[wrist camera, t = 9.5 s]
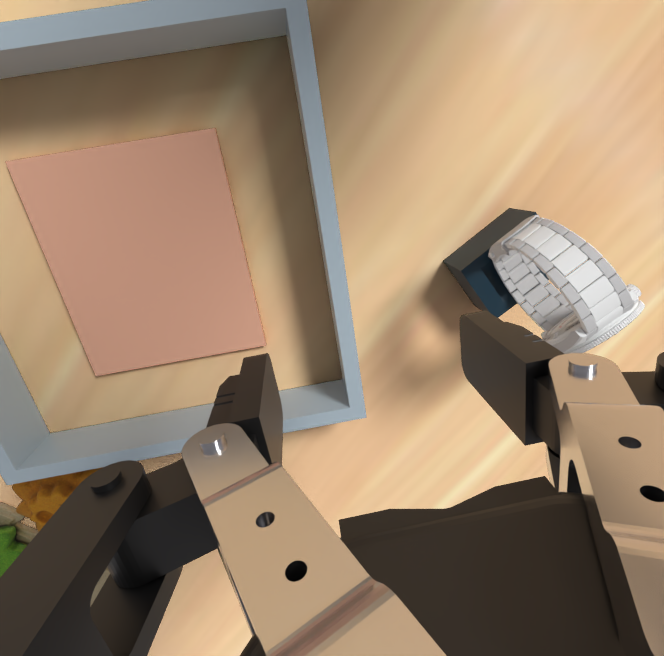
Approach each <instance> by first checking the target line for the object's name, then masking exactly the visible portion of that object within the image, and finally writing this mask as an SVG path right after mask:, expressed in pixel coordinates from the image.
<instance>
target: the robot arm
mask: <svg viewBox="0 0 664 656" xmlns="http://www.w3.org/2000/svg"><path fill="white" fill-rule="evenodd" d="M460 342H461V360H462V367H463V371H464V374H465V376H466V378H467V380H468V381H469V382H470V383H471V384H472V386H473V387H474V388H475V389H476V390H477V391H478V392H479V394H480V395H481V396H482V397H483V398H484V399H485V400H486V402H487V403H488V404H489V405H490V406H491V407H492V408H493V410H494V411H495V412H496V413H497V414H498V415H499V416H500V417H501V419H502V420H503V421H504V422H505V423H506V424H507V425H508V427H509V428H510V429H511V430H512V431H513V432H514V433H515V435H516V436H517V437H518V438H519V439H520V440H521V441H522V442H523V444H524V445H530V444H535V443H539V442H545V443H546V463H547V469H548V474H549V480H550V482H549V480H548V479H547V478H546V477H545V476H543V477H538V478H534V479H529V480H524V481H519V482H515V483H510V484H505V485H501V486H496V487H493V488H491V489H489V490H487V491H485V492H483V493H481V494H478V495H476V496H474V497H472V498H470V499H468V500H466V501H464V502H462V503H460V504H457V505H455V506H453V507H451V508H447V509H388V510H383V511H378V512H374V513H369V514H364V515H360V516H355V517H350V518H345V519H341V520H339V525H340V532H341V538H339V537H338V535H337V534H336V533H335V532H334V530H333V529H332V528H331V527H330V525H329V524H328V523H327V522H326V520H325V519H324V518H323V517H322V515H321V514H320V513H319V512H318V510H317V509H316V508H315V507H314V505H313V504H312V503H311V502H310V500H309V499H308V498H307V497H306V495H305V494H304V493H303V492H302V490H301V489H300V488H299V487H298V485H297V484H296V483H295V482H294V480H293V479H292V478H291V476H290V475H289V474H288V473H287V471H286V470H285V469H284V468H283V466H282V440H283V411H282V404H281V399H280V395H279V391H278V387H277V383H276V379H275V375H274V371H273V367H272V363H271V360H270V357H269V354H268V353H266V354H261V355H256V356H251V357H246V358H244V359H243V363H242V367H241V371H240V375H235V376H230V377H228V378H227V379H226V380H225V382H224V383H223V384H222V385H221V386H220V387H219V390H218V393H217V396H216V397H217V398H216V399H215V402H214V406H213V408H212V411H211V414H210V417H209V420H208V423H207V426H206V428H205V429H203V430H201V431H199V432H197V433H196V434H194V435H193V436H192V437H191V438H190V439H188V440H187V442H186V443H185V444H184V446H183V448H182V452H181V454H182V457H183V458H182V459H181V460H179V461H177V462H175V463H173V464H171V465H168V466H166V467H163V468H161V469H158V470H156V471H153V472H151V473H149V474H146V473H145V471H144V468H143V466H142V465H141V463H139V462H137V461H132V460H126V461H120V462H116V463H113V464H110V465H108V466H105V467H103V468H101V469H99V470H97V471H96V472H94V473H93V474H91V475H90V476H88V477H87V478H86V479H85V480H83V481H82V482H81V483H80V484H79V485H78V486H77V487H76V489H75V490H74V491H73V492H72V493H71V495H70V496H69V497H68V498H67V499H66V500H65V502H64V503H63V504H62V505H61V506H60V507H59V509H58V510H57V511H56V512H55V513H54V515H53V516H52V517H51V518H50V519H49V520H48V522H47V523H46V524H45V525H44V526H43V528H42V529H41V530H40V531H39V532H38V533H37V535H36V536H35V537H34V538H33V539H32V541H31V542H30V543H29V544H28V545H27V546H26V548H25V549H24V550H23V551H22V552H21V554H20V555H19V556H18V557H17V558H16V559H15V561H14V562H13V563H12V564H11V565H10V567H9V568H8V569H7V570H6V571H5V572H4V574H3V575H2V576H1V577H0V656H147V654H148V652H149V649H150V647H151V645H152V642H153V640H154V637H155V635H156V633H157V630H158V628H159V625H160V623H161V620H162V618H163V616H164V613H165V611H166V608H167V606H168V603H169V601H170V599H171V596H172V594H173V591H174V589H175V586H176V584H177V582H178V579H179V577H180V574H181V571H182V567H183V565H185V564H187V563H189V562H191V561H193V560H195V559H197V558H199V557H201V556H203V555H205V554H207V553H209V552H211V551H213V550H215V549H217V550H218V552H219V554H220V557H221V559H222V562H223V564H224V567H225V569H226V572H227V574H228V577H229V579H230V582H231V584H232V586H233V589H234V591H235V594H236V596H237V599H238V601H239V604H240V606H241V609H242V611H243V614H244V616H245V619H246V621H247V624H248V626H249V629H250V632H251V634H252V638H251V639H250V641H249V643H248V644H247V646H246V647H245V649H244V650H243V652H242V653H241V655H240V656H664V352H663V353H661V354H659V356H658V357H657V363H656V370H655V371H652V372H621V371H620V369H619V367H618V366H617V365H616V364H615V363H614V362H612V361H611V360H609V359H607V358H604V357H601V356H597V355H593V354H586V353H569V354H564V353H563V352H561V351H560V350H558V349H557V348H555V347H553V346H552V345H550V344H549V343H547V342H546V341H542V339H541V338H539V337H538V336H536V335H533V333H532V332H530V331H528V330H527V329H525V328H524V327H522V326H519V325H515V324H512V323H508V322H503V321H501V320H500V319H499V318H497V317H496V316H494V315H493V314H491V313H490V312H488V311H481V312H476V313H471V314H465V315H462V316H461V317H460ZM106 568H108V570H109V572H110V575H109V576H108V578H107V580H106V581H105V583H104V585H103V587H102V588H101V590H100V592H99V593H98V595H97V597H96V598H95V600H94V602H93V604H92V605H91V607H90V603H91V598H92V594H93V591H94V589H95V587H96V585H97V583H98V581H99V580H100V578H101V576H102V575H103V573H104V571H105V570H106Z"/></svg>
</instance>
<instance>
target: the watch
mask: <svg viewBox="0 0 664 656" xmlns="http://www.w3.org/2000/svg"><path fill="white" fill-rule="evenodd" d="M584 244H585V245H584ZM570 246H571V247H570ZM569 247H570V248H569ZM580 247H581V248H580ZM565 250H566V251H565ZM561 253H562V254H561ZM601 257H602V254H600V253H599V252H598V251H597V250H596V249H595V248H594V247H593V246H592V245H590V244H589V243H586V241H585V240H584V239H582V238H581V237H580V236H578V235H577V234H575V233H574V232H572V231H570V230H569V229H568V228H566V227H564V226H562V225H561V224H558V223H556V222H554V221H552V220H549V219H545V218H544V219H543V218H539V215H537V213H536V212H531V211H525V210H518V209H512V208H509V209H508V210H506V211H505V212H504V213H503V214H501V215H500V216H499V217H498V218H496V219H495V220H494V221H493V222H491V223H490V224H489V225H487V226H486V227H485V228H484V229H482V230H481V231H480V232H479V233H477V234H476V235H475V236H474V237H472V238H471V239H470V240H469V241H467V242H466V243H465V244H464V245H462V246H461V247H460V248H459V249H457V250H456V251H455V252H453V253H452V254H451V255H450V256H448V257H447V258H446V259H445V260H443V262H444V263H445V265H446V266H447V267H448V269H449V270H450V272H451V273H452V274H453V276H454V277H455V279H456V280H457V281H458V283H459V284H460V286H461V287H462V288H463V290H464V291H465V293H466V294H467V295H468V297H469V298H470V300H471V301H472V302H473V304H474V305H475V306H476V307H478V308H479V309H480V310H482V311H488V312H490V313H491V314H493V315H494V316H496V317H497V318H498V317H499V316H501V315H502V314H503V313H505V312H506V311H507V310H509V309H510V308H511V307H513V306H514V305H515V304H517V303H518V304H519V305H520V304H521V303H522V302H523V303H522V304H521V305H520V306H521V308H522V309H523V310H524V311H525V312H526V313H527V315H528V316H530V315H531V316H530V317H531V319H532V320H533V321H534V322H535V323H536V324H537V325H538V326H539V327H541V328H542V329H543V330H544V332H543V333H542V334H541V336H542V341H546V342H547V343H549V344H550V345H552V346H553V347H555V348H557V349H558V350H560V351H561V352H563V353H564V354H569V353H584V352H586V351H588V350H590V349H592V348H594V347H595V346H597V345H599V344H600V343H602V342H604V341H605V340H607V339H609V338H610V337H612V336H613V335H616V334H617V333H619V331H620V330H622V329H623V328H624V327H626V326H627V325H628V324H629V323H631V322H632V321H633V320H634V319H635V318H636V317H637V316H638V315H639V314H640V313H641V312H642V310H643V309H644V306H645V305H644V304H643V303H642V301H640V300H639V298H638V297H639V296H640V295H641V291H640V290H639V289H638V288H637V287H636V286H635V285H632V284H629V285H627V286H626V285H625V283H624V282H623V280H622V279H621V277H620V276H619V275H618V274H617V273H616V270H615V269H614V268H613V267H612V266H611V264H610V263H609V262H608V261H607V260H606V259H605V258H601ZM600 258H601V259H600ZM599 259H600V260H599ZM586 260H587V261H586ZM597 260H598V261H597ZM585 261H586V262H585ZM596 261H597V262H596ZM583 262H585V263H583ZM582 263H583V264H582ZM581 264H582V265H581ZM579 265H580V266H579ZM578 266H579V267H578ZM577 267H578V268H577ZM575 268H576V269H575ZM574 269H575V270H574ZM573 270H574V271H573ZM571 271H572V272H571ZM570 272H571V273H570ZM569 273H570V274H569ZM567 274H568V275H567ZM566 275H567V276H566ZM565 276H566V277H565ZM548 280H550V281H551V282H552V283H553V284H554V286H555V287H556V288H558V289H559V288H560V289H559V291H560V292H561V294H560V292H559V291H558V290H557V289H556V288H555V287H554V286H553V285H552V284H551V283H549V281H548ZM548 283H549V284H548ZM566 283H567V284H566ZM546 284H547V285H546ZM565 284H566V285H565ZM545 285H546V286H545ZM544 286H545V287H544ZM562 286H563V287H562ZM561 287H562V288H561ZM548 295H549V296H548ZM557 295H558V296H557ZM547 296H548V297H547ZM556 296H557V297H556ZM545 297H546V298H545ZM544 298H545V299H544ZM543 299H544V300H543ZM541 300H542V301H541ZM524 301H525V302H524ZM540 301H541V302H540ZM539 302H540V303H539ZM537 303H538V304H537ZM536 304H537V305H536ZM535 305H536V306H535ZM533 306H534V307H533ZM552 311H553V312H552ZM534 312H535V313H534Z"/></svg>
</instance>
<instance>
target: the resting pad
mask: <svg viewBox="0 0 664 656" xmlns="http://www.w3.org/2000/svg"><path fill="white" fill-rule="evenodd" d="M5 163H6V165H7V167H8V170H9V172H10V174H11V177H12V179H13V182H14V184H15V186H16V189H17V191H18V193H19V196H20V198H21V201H22V203H23V205H24V208H25V210H26V212H27V215H28V217H29V219H30V222H31V224H32V227H33V229H34V231H35V234H36V236H37V238H38V241H39V243H40V246H41V248H42V250H43V253H44V255H45V257H46V260H47V262H48V265H49V267H50V269H51V272H52V274H53V276H54V279H55V281H56V283H57V286H58V288H59V291H60V293H61V295H62V298H63V300H64V302H65V305H66V307H67V310H68V312H69V314H70V317H71V319H72V321H73V324H74V326H75V329H76V331H77V333H78V336H79V338H80V340H81V343H82V345H83V347H84V350H85V352H86V355H87V357H88V359H89V362H90V364H91V366H92V369H93V371H94V374H95V376H100V375H105V374H111V373H116V372H122V371H128V370H133V369H139V368H144V367H150V366H155V365H161V364H166V363H172V362H177V361H183V360H188V359H194V358H200V357H205V356H211V355H216V354H222V353H227V352H233V351H238V350H244V349H249V348H255V347H260V346H266V340H265V336H264V332H263V328H262V323H261V319H260V315H259V311H258V306H257V302H256V298H255V293H254V289H253V285H252V281H251V276H250V272H249V268H248V264H247V259H246V255H245V251H244V247H243V242H242V238H241V234H240V230H239V225H238V221H237V217H236V213H235V208H234V204H233V200H232V195H231V191H230V187H229V183H228V178H227V174H226V170H225V166H224V161H223V157H222V153H221V149H220V144H219V140H218V136H217V132H216V128H211V129H204V130H198V131H192V132H186V133H179V134H173V135H167V136H161V137H155V138H148V139H142V140H136V141H130V142H123V143H117V144H111V145H105V146H98V147H92V148H86V149H80V150H73V151H67V152H61V153H55V154H48V155H42V156H36V157H30V158H23V159H17V160H11V161H5Z"/></svg>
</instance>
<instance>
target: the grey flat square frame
mask: <svg viewBox="0 0 664 656" xmlns="http://www.w3.org/2000/svg"><path fill="white" fill-rule="evenodd" d="M285 35H287V41H288V48H289V54H290V60H291V66H292V72H293V78H294V84H295V90H296V97H297V103H298V109H299V115H300V121H301V127H302V133H303V140H304V146H305V152H306V158H307V164H308V170H309V176H310V182H311V189H312V195H313V201H314V207H315V213H316V219H317V225H318V231H319V238H320V244H321V250H322V256H323V262H324V268H325V274H326V281H327V287H328V293H329V299H330V305H331V311H332V317H333V323H334V330H335V336H336V342H337V348H338V354H339V360H340V366H341V372H342V379H341V380H335V381H330V382H325V383H319V384H314V385H308V386H303V387H298V388H292V389H287V390H281V391H279V395H280V399H281V404H282V411H283V433H287V432H292V431H297V430H303V429H308V428H313V427H319V426H324V425H329V424H335V423H340V422H345V421H350V420H356V419H361V418H366V411H365V404H364V397H363V390H362V383H361V376H360V369H359V362H358V355H357V348H356V341H355V334H354V327H353V320H352V313H351V306H350V299H349V292H348V285H347V278H346V271H345V265H344V258H343V251H342V244H341V237H340V230H339V223H338V216H337V209H336V202H335V195H334V188H333V181H332V174H331V167H330V160H329V153H328V146H327V139H326V132H325V125H324V118H323V111H322V105H321V98H320V91H319V84H318V77H317V70H316V63H315V56H314V49H313V42H312V35H311V28H310V21H309V14H308V7H307V0H149V1H142V2H136V3H129V4H122V5H115V6H109V7H102V8H95V9H88V10H82V11H75V12H68V13H61V14H54V15H48V16H41V17H34V18H27V19H21V20H14V21H7V22H0V79H4V78H10V77H17V76H23V75H30V74H36V73H43V72H49V71H56V70H62V69H69V68H76V67H82V66H89V65H95V64H102V63H108V62H115V61H121V60H128V59H134V58H141V57H148V56H154V55H161V54H167V53H174V52H180V51H187V50H193V49H200V48H206V47H213V46H220V45H226V44H233V43H239V42H246V41H252V40H259V39H265V38H272V37H279V36H285ZM213 406H214V403H211V404H206V405H200V406H195V407H189V408H184V409H179V410H173V411H168V412H162V413H157V414H152V415H146V416H141V417H135V418H130V419H125V420H119V421H114V422H108V423H103V424H97V425H92V426H87V427H81V428H76V429H70V430H65V431H60V432H54V433H50V432H49V430H48V428H47V426H46V424H45V422H44V420H43V418H42V416H41V414H40V412H39V410H38V408H37V406H36V404H35V402H34V400H33V398H32V396H31V394H30V392H29V390H28V388H27V386H26V384H25V382H24V380H23V378H22V376H21V374H20V372H19V370H18V368H17V366H16V364H15V362H14V360H13V358H12V356H11V354H10V352H9V350H8V348H7V346H6V344H5V342H4V340H3V338H2V336H1V334H0V474H1V476H2V478H3V479H4V481H5V483H6V485H11V484H17V483H22V482H27V481H33V480H38V479H43V478H48V477H54V476H59V475H64V474H70V473H75V472H80V471H86V470H91V469H96V468H101V467H105V466H108V465H110V464H113V463H116V462H120V461H126V460H132V461H139V460H144V459H149V458H154V457H160V456H165V455H170V454H176V453H181V452H182V448H183V446H184V444H185V443H186V442H187V440H188V439H190V438H191V437H192V436H193V435H194V434H196V433H197V432H199V431H201V430H203V429H205V428H206V426H207V423H208V420H209V417H210V414H211V411H212V408H213Z"/></svg>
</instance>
